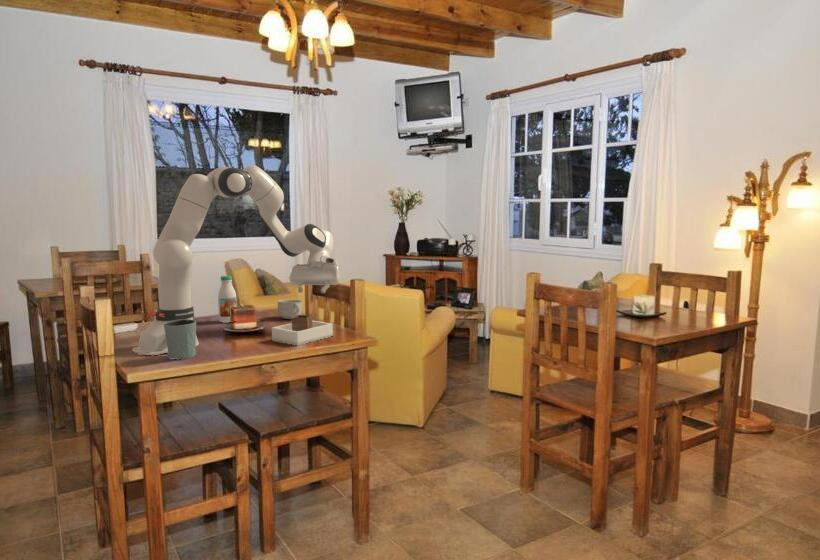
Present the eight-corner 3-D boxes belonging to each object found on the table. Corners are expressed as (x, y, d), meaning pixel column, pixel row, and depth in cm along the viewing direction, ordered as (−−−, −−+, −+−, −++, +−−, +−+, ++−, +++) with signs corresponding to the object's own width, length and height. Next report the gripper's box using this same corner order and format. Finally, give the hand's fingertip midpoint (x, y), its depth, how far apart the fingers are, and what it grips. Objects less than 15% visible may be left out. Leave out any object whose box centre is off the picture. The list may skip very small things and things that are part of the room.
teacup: (275, 317, 269) (275, 299, 268) (299, 314, 274) (298, 297, 273) (282, 322, 257) (282, 304, 256) (307, 320, 261) (306, 302, 260)
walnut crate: (307, 338, 223) (307, 318, 222) (292, 337, 224) (291, 318, 223) (312, 334, 229) (312, 315, 228) (297, 334, 230) (297, 314, 229)
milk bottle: (215, 322, 259) (212, 276, 256) (228, 319, 265) (226, 274, 263) (228, 324, 255) (226, 277, 252) (241, 320, 262) (239, 275, 259)
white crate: (297, 345, 215) (297, 332, 215) (272, 340, 224) (271, 327, 223) (332, 336, 230) (332, 323, 229) (307, 331, 238) (307, 319, 237)
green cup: (201, 352, 207) (199, 318, 205) (192, 360, 197) (190, 325, 195) (172, 353, 206) (169, 319, 205) (161, 361, 196) (158, 325, 195)
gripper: (291, 259, 243) (283, 287, 235) (340, 259, 240) (334, 287, 231) (295, 269, 248) (288, 296, 240) (343, 269, 245) (337, 297, 236)
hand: (311, 292), depth 235 cm, fingers open, 8 cm apart
